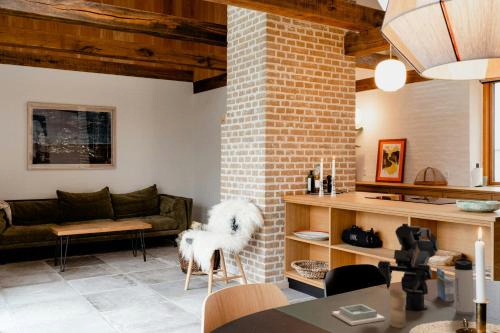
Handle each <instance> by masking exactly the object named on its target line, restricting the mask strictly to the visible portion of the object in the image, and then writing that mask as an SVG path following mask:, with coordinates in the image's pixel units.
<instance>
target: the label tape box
mask: <svg viewBox="0 0 500 333" xmlns="http://www.w3.org/2000/svg"><path fill="white" fill-rule="evenodd" d="M436 284H437V285H436V286H437V287H436V288H437V297H439V298H440V299H441V300H443V301H444V302H447V303H448V302H449V303H450V302H452V303H453V302H455V292H454V291H455V290H454V281H453V280H451V279H450V278H448V277H446V276H445V271H443V270H442V269H440V268H438V267H436Z"/></svg>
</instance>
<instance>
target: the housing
mask: <svg viewBox="0 0 500 333" xmlns="http://www.w3.org/2000/svg"><path fill="white" fill-rule="evenodd" d="M338 308H339V310H337V311H332V314H331V315H333V316H334V317H336V318H338V319H340V320H341V321H344V322H345V323H346V324H349V325H350V326H357V325H363V324H368V323H374V322H382V321H386V317H385V316H383V315H381V314H379V313H378V311H377V310H375V309H374V308H372V307H369V306H367V305H365V304H362V303H361V304H359V303H358V304H352V305H346V306H339V307H338Z"/></svg>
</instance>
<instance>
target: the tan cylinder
mask: <svg viewBox="0 0 500 333" xmlns="http://www.w3.org/2000/svg"><path fill="white" fill-rule="evenodd" d="M389 303H390V306H389V307H390V310H389V311H390V325H391V327H394V328H399V329H401V328H405V327H407V326H406V325H407V324H406V323H407V322H406V308H405V305H406V292H405V291H403V290H402V289H391V290H390V289H389Z"/></svg>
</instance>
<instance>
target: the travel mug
mask: <svg viewBox="0 0 500 333" xmlns="http://www.w3.org/2000/svg"><path fill="white" fill-rule="evenodd" d="M473 270H474V269H473V261H472V260H470V259H466V258H465V257H464V258H463V257H462V258H461V257H460V258H459V259H455V260H454V285H455V286H454V287H455V290H454V291H455V292H454V295H455V312H456V314H458V315H461V316H473V315H474V314H475V302H473V299H474V298H475V297H474V296H475V294H474V272H473ZM474 300H475V299H474Z"/></svg>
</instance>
